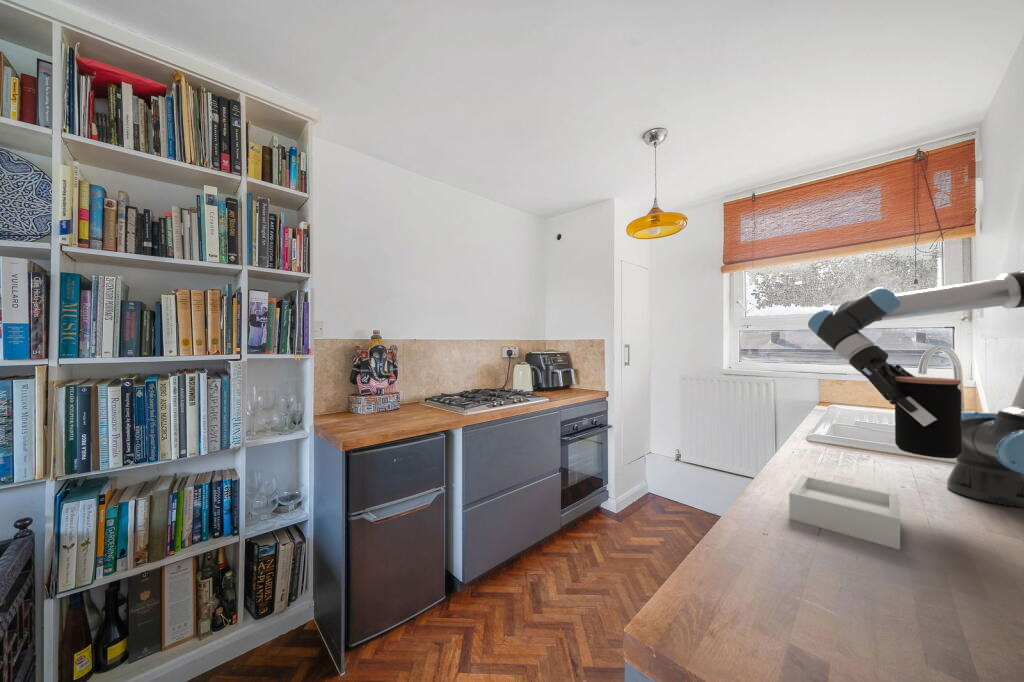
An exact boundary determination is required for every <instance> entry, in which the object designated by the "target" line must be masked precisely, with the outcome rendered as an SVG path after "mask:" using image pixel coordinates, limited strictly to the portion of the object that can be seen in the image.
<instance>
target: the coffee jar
mask: <svg viewBox="0 0 1024 682" xmlns="http://www.w3.org/2000/svg"><path fill="white" fill-rule="evenodd" d="M895 381H896V382H897V383H898V386H899V387H900V389H901V390H902V391H903V393H904V394H905V395H906V397H905V398H907V397H911V398H912V399H913V400H914V401H916V402H917V403H918V404H919V405H920V406H922V407H923V408H924V409H925V410H926V411H928V412H929V413H930V414H931V415H933V416H934V417H935V418H936V419H937V420H935V421H934V422H932V423H930V424H928V425H927V426H923V425H922V424H921V423H919V422H918V421H917V420H916V419H915V418H914V417H912V416H911V415H910V414H909V413H908V412H907V411H906V410H904V409H903V408H902V407H901V406H900V405H899V404H898V402H897V403H896V404H894V435H895V436H894V437H895V438H894V440H895V442H894V443H895V445H896V447H897V448H898V449H899V450H900V451H902V452H906V453H909V454H913V455H917V456H924V457H929V458H930V457H931V458H936V459H937V458H939V459H957V457H958V456H959V455H960V454H961V453H962V423H961V412H962V390H961V389H960V388H959V385H961V381H962V380H961V379H956V378H946V377H943V378H942V377H931V376H930V377H927V376H915V377H895Z"/></svg>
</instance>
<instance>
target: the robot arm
mask: <svg viewBox="0 0 1024 682" xmlns="http://www.w3.org/2000/svg"><path fill="white" fill-rule="evenodd" d="M994 307H1003V308H1005V309H1007V310H1009V309H1016V308H1018V309H1019V308H1024V269H1023V270H1022V269H1021V270H1018V271H1014V272H1006V273H1001V274H1000V275H998V276H997V277H996V278H992V279H986V280H979V281H972V282H968V283H965V282H964V283H961V284H960V283H959V284H952V285H947V286H946V285H945V286H941V287H940V286H939V287H934V288H933V287H932V288H927V289H920V290H913V291H907V292H901V293H893V291H891V290H890V289H888V288H886V287H884V286H878V287H875V288H873V289H871V290H869V291H867V292H866V293H865V294H863V295H861V296H859V297H857V298H854V299H851V300H848V301H847V300H846V301H845V302H843V303H841V304H840V306H838V308H837V309H836V311H835V310H832V309H831V308H830V309H829V308H825V309H822V310H819V311H818V312H816V313H814V314H813V315H812V316H811V317H810V318H809V320H808V322H807V327H808V329H810V330H811V331H812V332H813V333H814V334H815V335H816V337H818V338H820V339H821V341H822V342H824V343H825V344H827V346H828V347H830V348H831V349H832V350H833V351H835V352H836V353H837V354H838V357H839V358H843V359H844V360H845V362H846V361H847V362H849V363H848V364H849V365H850V366H852V367H853V368H854V369H855V370H856V371H857V372H859V373H860V374H862V375H863V376H864V377H865V378H867V380H868V381H869V383H871V384H872V385H873V387H874V388H876V390H877V392H879V393H880V395H881V396H882V397H883V398H884V399H885V400H886V401H888V402H889V404H890V405H893V406H895V404H896V403H897V402H898V404H899V405H900V406H901V407H902V408H903V409H904V410H906V411H907V412H908V413H909V414H910V415H911V416H912V417H914V418H915V419H916V420H917V421H918V422H919V423H921V424H922V425H923V426H927V425H928V424H930V423H932V422H934V421H935V420H937V419H936V418H935V417H934V416H933V415H931V414H930V413H929V412H928V411H926V410H925V409H924V408H923V407H922V406H920V405H919V404H918V403H917V402H916V401H914V400H913V399H912V398H911V397H907V398H905V397H906V395H905V394H904V393H903V391H902V390H901V389H900V387H899V386H898V383H897V382H896V381H895V377H916V376H915V375H913V374H912V373H910V372H909V371H907V370H906V369H905V368H903V367H902V366H901V365H900V364H896V365H893V364H890V363H889V362H887V359H888V358H889V354H888V353H887V351H885V350H884V349H882V348H881V347H879V346H878V345H875V344H876V343H875V342H874V341H873V340H871V339H870V338H868V337H867V336H866V335H865V334H863V333H862V332H860V331H861V330H863V329H865V328H866V327H868V326H869V325H871V324H874V323H875V322H881V321H888V320H889V321H890V320H897V319H907V318H915V317H922V316H929V315H930V316H931V315H937V314H947V313H954V312H963V311H969V310H979V309H987V308H994ZM961 423H962V453H961V454H960V455H959V456H958V457H957V458H956V462H955V464H954V467H953V469H952V471H951V472H950V474H949V476H948V477H947V481H946V482H947V483H946V487H947V489H948V490H949V489H950V490H949V491H951V492H953V491H954V492H953V493H955V492H956V493H955V494H958V493H959V494H958V495H960V494H962V495H961V496H963V495H965V496H964V497H966V496H967V497H966V498H970V497H971V498H970V499H973V498H974V500H977V499H979V500H978V501H981V500H983V501H982V502H985V501H988V502H987V503H990V502H994V503H993V504H995V503H999V504H998V505H1000V504H1006V505H1011V506H1010V507H1014V506H1018V507H1017V508H1024V375H1023V377H1022V379H1021V382H1020V384H1019V386H1018V389H1017V391H1016V394H1015V397H1014V398H1013V401H1012V404H1011V405H1010V406H1007V407H1005V408H1000V409H999V410H998V412H984V411H983V412H982V411H961ZM1006 505H1005V506H1006Z"/></svg>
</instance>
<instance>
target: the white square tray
mask: <svg viewBox="0 0 1024 682" xmlns="http://www.w3.org/2000/svg"><path fill="white" fill-rule="evenodd" d="M788 495H789V496H788V497H789V498H788V500H789V502H788V505H789V509H788V510H789V511H788V513H789V514H788V515H789V517H788V518H790V519H789V520H792V519H793V521H796V522H800V523H803V524H807V525H811V526H814V527H818V528H822V529H824V530H825V529H826V530H827V531H828V530H829V531H832V532H835V533H839V534H843V535H846V536H848V537H849V536H850V537H854V538H856V539H860V540H863V541H868V542H871V543H875V544H879V545H883V546H885V547H889V548H893V549H896V550H901V514H900V513H901V511H900V498H899V494H897V493H893V492H888V491H883V490H878V489H874V488H869V487H865V486H859V485H854V484H850V483H844V482H840V481H834V480H830V479H825V478H820V477H816V476H811V475H805V474H801V475H800V477H798V480H797V481H796V482H795V484H794V486H793V487H792V488H791V490H790V491H789V494H788Z"/></svg>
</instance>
